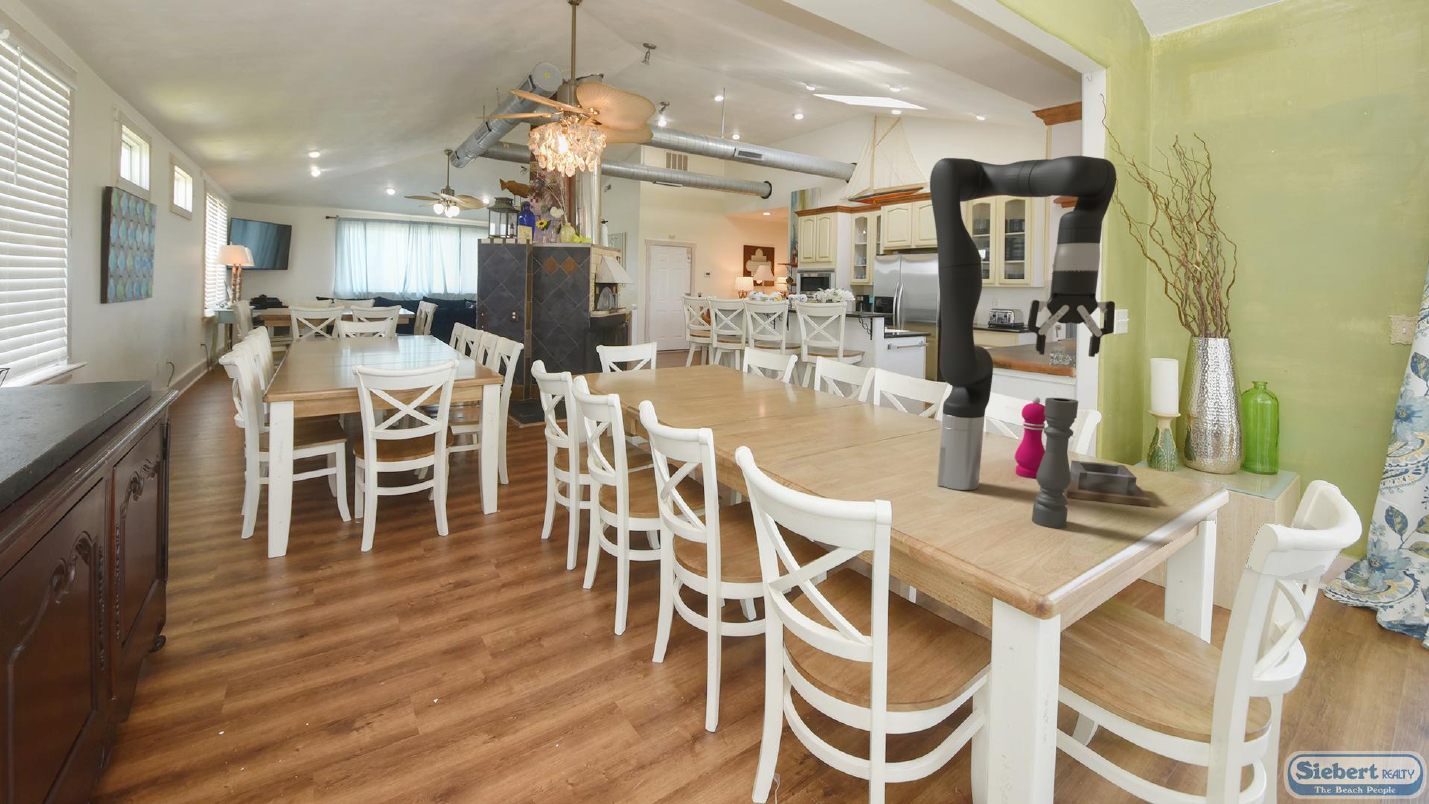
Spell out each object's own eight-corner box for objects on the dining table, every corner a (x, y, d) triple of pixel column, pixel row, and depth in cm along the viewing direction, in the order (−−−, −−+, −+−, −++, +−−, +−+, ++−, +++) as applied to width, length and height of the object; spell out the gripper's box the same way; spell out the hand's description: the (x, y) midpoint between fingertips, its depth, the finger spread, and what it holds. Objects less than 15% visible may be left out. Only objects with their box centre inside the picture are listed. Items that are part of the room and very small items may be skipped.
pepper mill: (1048, 479, 156) (1057, 400, 153) (1017, 477, 158) (1024, 398, 154) (1040, 471, 163) (1047, 395, 160) (1010, 469, 165) (1017, 394, 161)
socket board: (1066, 497, 143) (1069, 474, 142) (1056, 478, 157) (1058, 456, 156) (1149, 506, 137) (1153, 482, 136) (1130, 485, 152) (1133, 463, 151)
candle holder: (1025, 517, 130) (1037, 397, 126) (1054, 516, 130) (1066, 397, 126) (1043, 528, 124) (1056, 402, 119) (1073, 527, 124) (1087, 402, 120)
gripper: (1035, 268, 117) (1027, 355, 120) (1124, 268, 113) (1113, 359, 115) (1031, 269, 124) (1023, 352, 127) (1114, 269, 119) (1104, 355, 122)
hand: (1066, 355), depth 121 cm, fingers open, 8 cm apart
